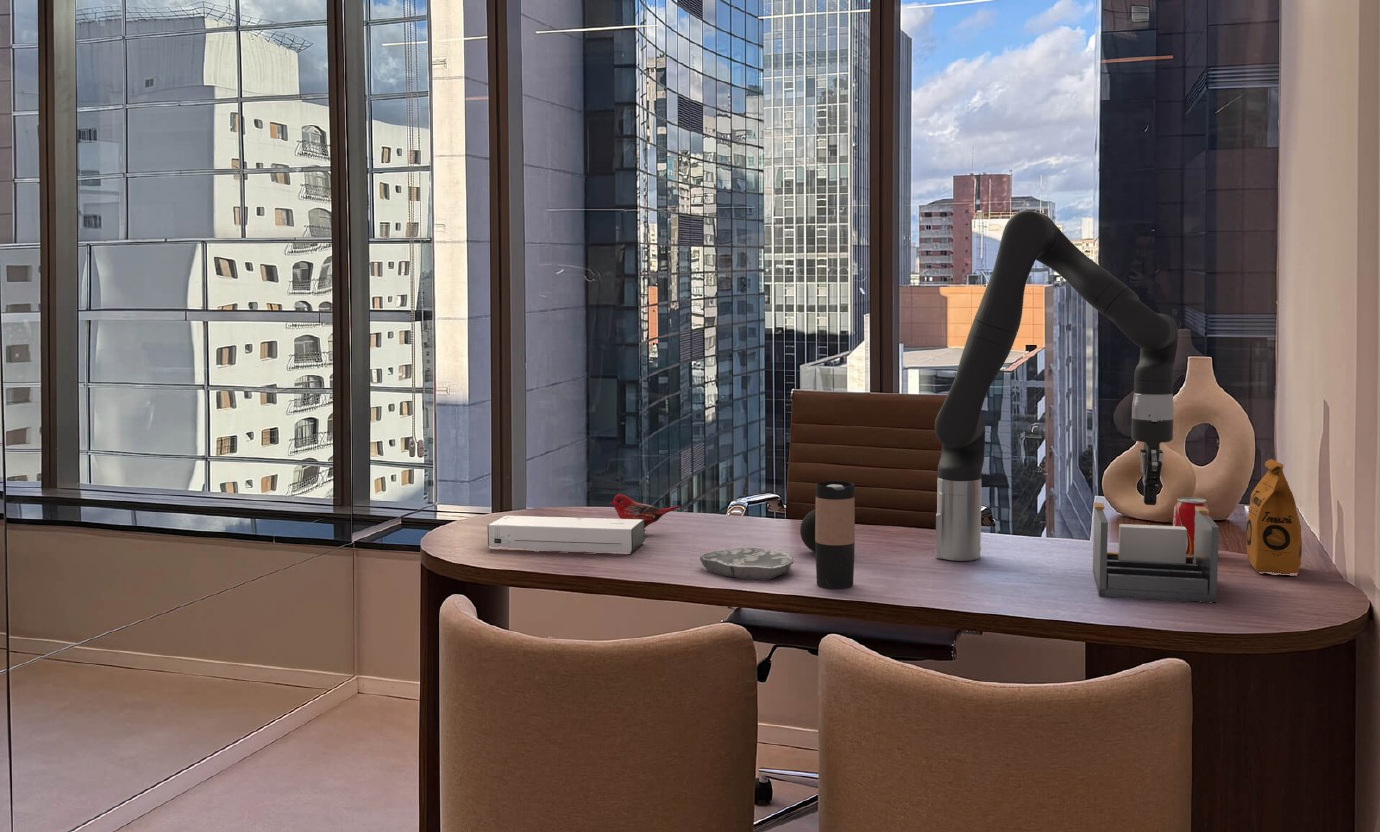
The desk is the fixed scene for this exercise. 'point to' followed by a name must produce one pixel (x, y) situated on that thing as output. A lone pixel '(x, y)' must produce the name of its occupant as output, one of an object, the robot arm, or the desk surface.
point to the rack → (1158, 567)
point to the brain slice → (748, 563)
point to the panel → (1152, 543)
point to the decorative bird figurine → (638, 510)
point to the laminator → (567, 533)
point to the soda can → (1188, 518)
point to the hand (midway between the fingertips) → (1149, 504)
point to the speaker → (809, 530)
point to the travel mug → (835, 534)
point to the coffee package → (1273, 525)
